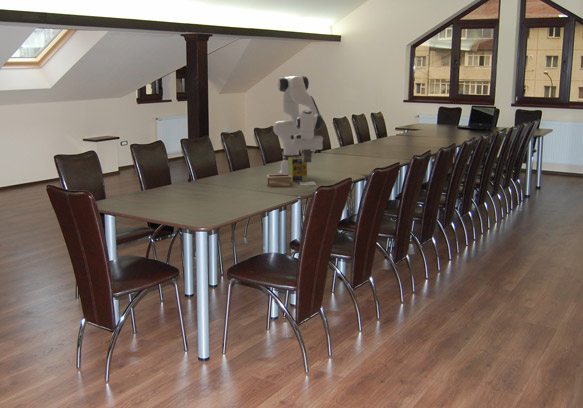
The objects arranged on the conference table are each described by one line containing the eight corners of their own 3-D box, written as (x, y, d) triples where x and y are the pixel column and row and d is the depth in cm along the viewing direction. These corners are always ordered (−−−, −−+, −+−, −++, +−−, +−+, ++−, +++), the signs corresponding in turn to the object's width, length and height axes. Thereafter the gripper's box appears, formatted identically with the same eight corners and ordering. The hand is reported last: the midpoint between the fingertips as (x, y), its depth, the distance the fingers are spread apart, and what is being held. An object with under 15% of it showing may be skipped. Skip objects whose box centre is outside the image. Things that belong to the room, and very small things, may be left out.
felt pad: (299, 183, 435) (299, 181, 435) (314, 182, 436) (314, 181, 436) (300, 186, 424) (300, 184, 423) (316, 185, 424) (316, 184, 424)
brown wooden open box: (267, 183, 434) (267, 174, 432) (289, 183, 435) (289, 173, 433) (267, 186, 422) (267, 177, 421) (291, 186, 423) (291, 176, 422)
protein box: (292, 182, 440) (292, 159, 436) (288, 178, 454) (287, 156, 451) (307, 181, 442) (307, 158, 438) (302, 178, 456) (302, 156, 453)
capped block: (303, 161, 430) (303, 149, 428) (310, 160, 430) (310, 148, 428) (304, 162, 423) (304, 150, 422) (311, 162, 424) (311, 150, 422)
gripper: (322, 134, 427) (322, 155, 430) (291, 135, 426) (291, 156, 428) (323, 135, 421) (323, 156, 424) (292, 136, 420) (292, 157, 422)
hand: (307, 156), depth 426 cm, fingers closed on capped block, 4 cm apart
